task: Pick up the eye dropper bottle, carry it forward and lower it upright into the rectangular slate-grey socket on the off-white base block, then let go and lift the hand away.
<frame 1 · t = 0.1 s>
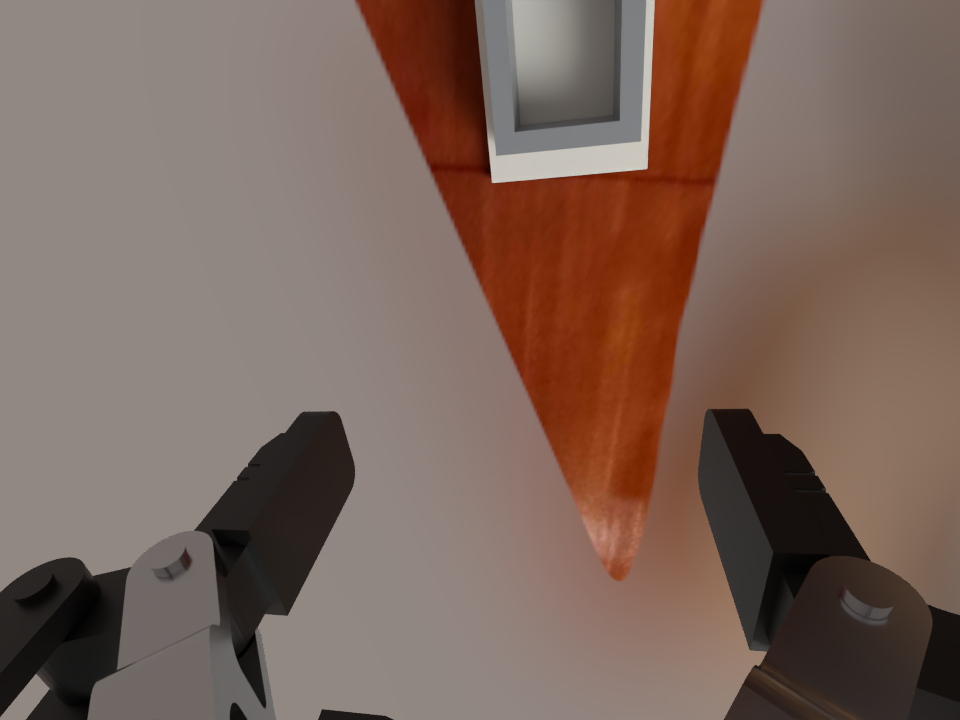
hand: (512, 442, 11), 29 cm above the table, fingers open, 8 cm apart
socket: (564, 49, 32), on the table
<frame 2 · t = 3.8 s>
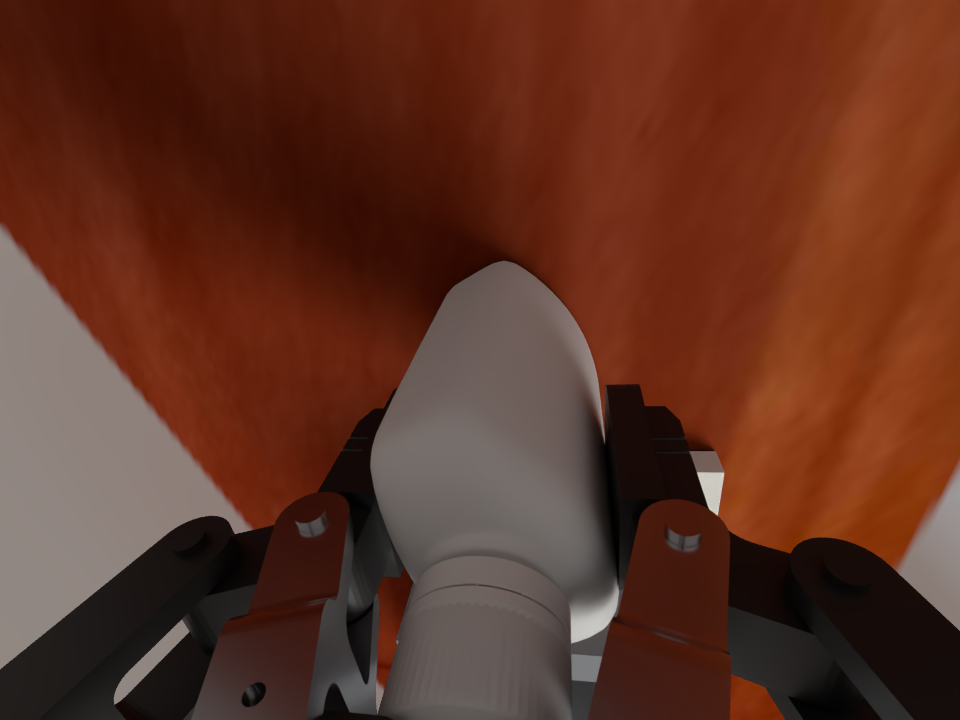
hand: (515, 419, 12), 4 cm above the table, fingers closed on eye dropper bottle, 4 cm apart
socket: (557, 595, 21), on the table
eye dropper bottle: (526, 342, 15), on the table, touching gripper
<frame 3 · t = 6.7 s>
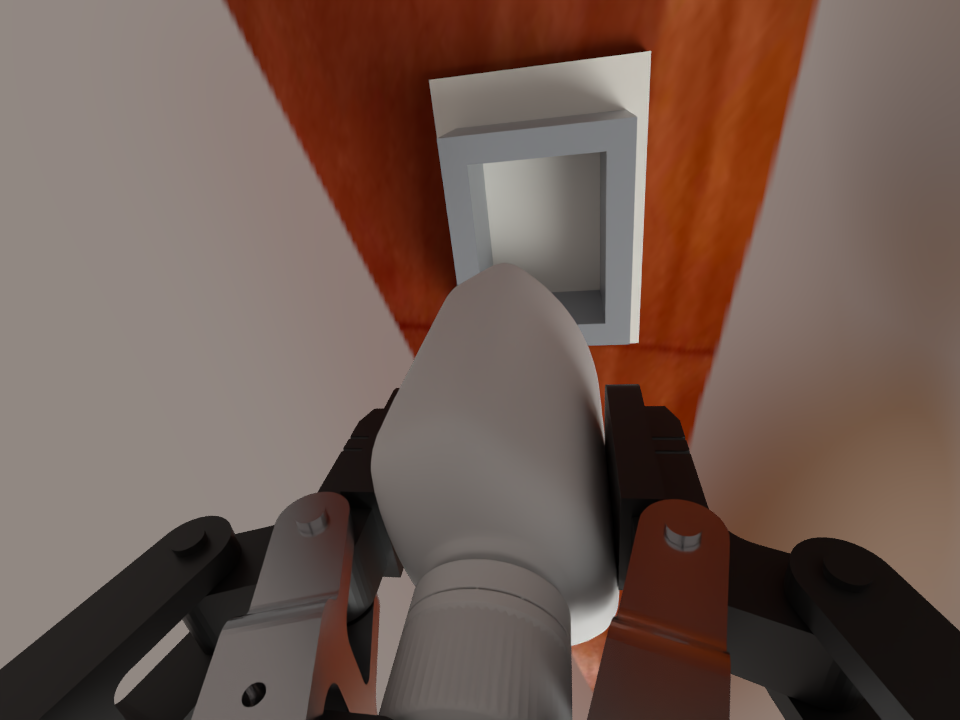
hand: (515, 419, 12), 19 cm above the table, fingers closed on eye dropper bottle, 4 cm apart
socket: (544, 219, 28), on the table
eye dropper bottle: (526, 344, 15), point 15 cm above the table, touching gripper
when the fingers open (6 cm above the table, at t = 9.6 s): eye dropper bottle drops 1 cm, resting on socket.
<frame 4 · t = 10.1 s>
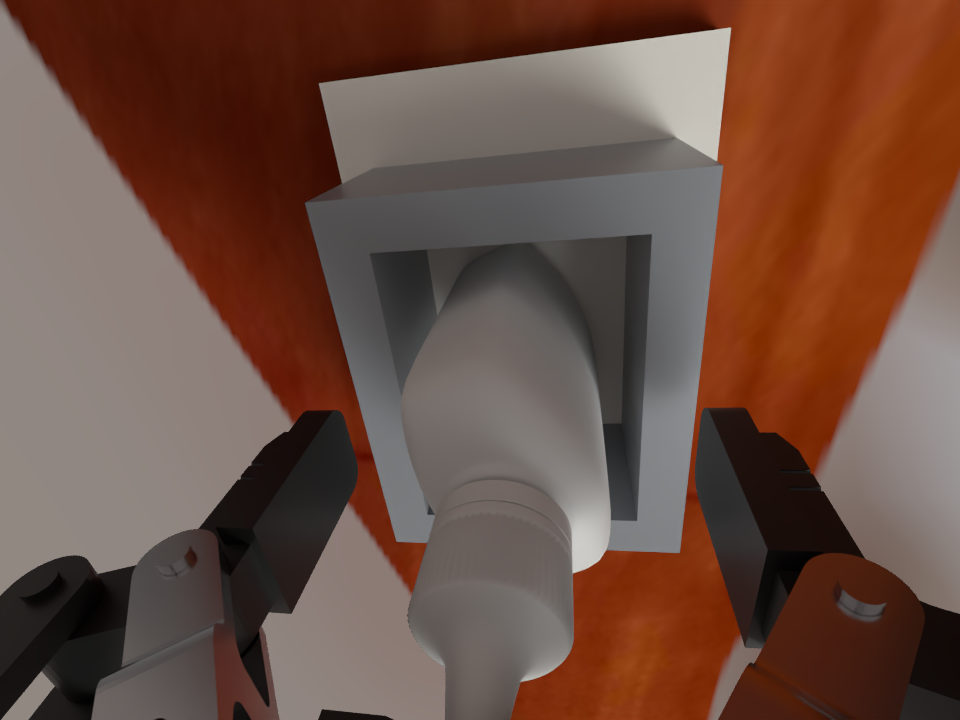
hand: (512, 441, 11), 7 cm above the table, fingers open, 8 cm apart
socket: (530, 311, 17), on the table
eye dropper bottle: (531, 320, 17), point 1 cm above the table, touching socket
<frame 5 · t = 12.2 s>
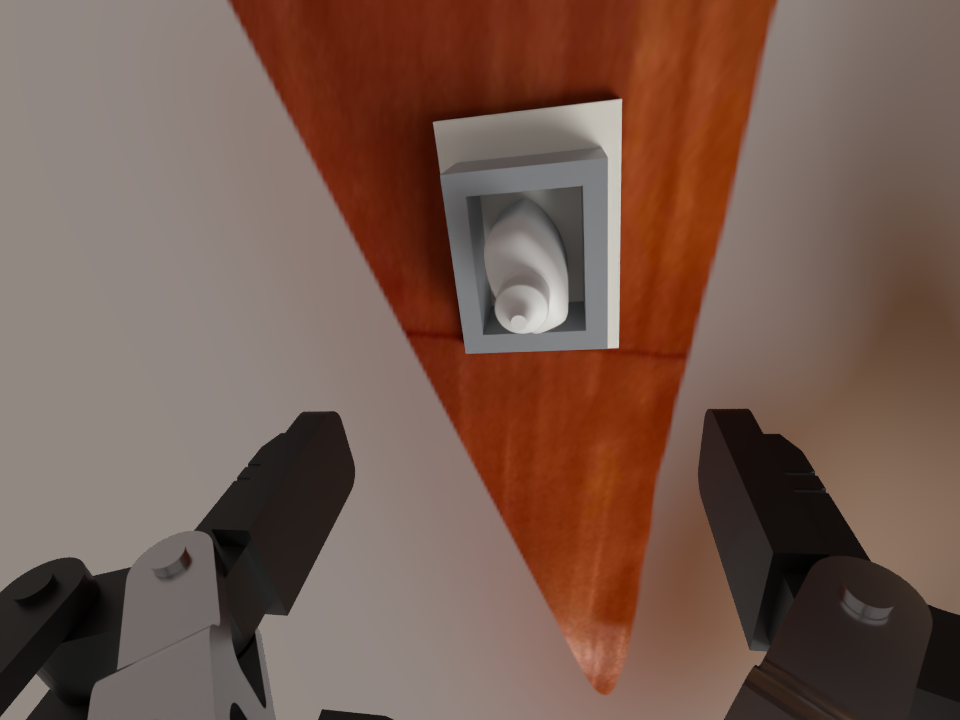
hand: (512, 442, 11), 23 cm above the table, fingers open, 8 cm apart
socket: (534, 239, 32), on the table
eye dropper bottle: (534, 242, 32), point 1 cm above the table, touching socket
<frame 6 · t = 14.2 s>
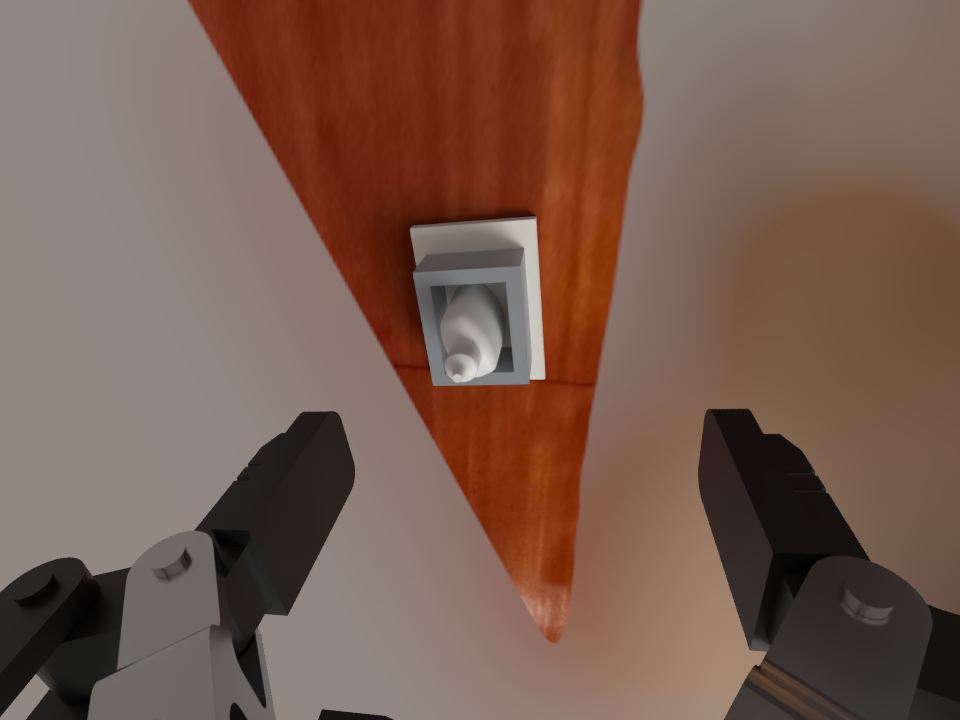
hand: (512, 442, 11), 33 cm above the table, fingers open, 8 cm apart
socket: (482, 303, 46), on the table
eye dropper bottle: (482, 307, 45), point 1 cm above the table, touching socket
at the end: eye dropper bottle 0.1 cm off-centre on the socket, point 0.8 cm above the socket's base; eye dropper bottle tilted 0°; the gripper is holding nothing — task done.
